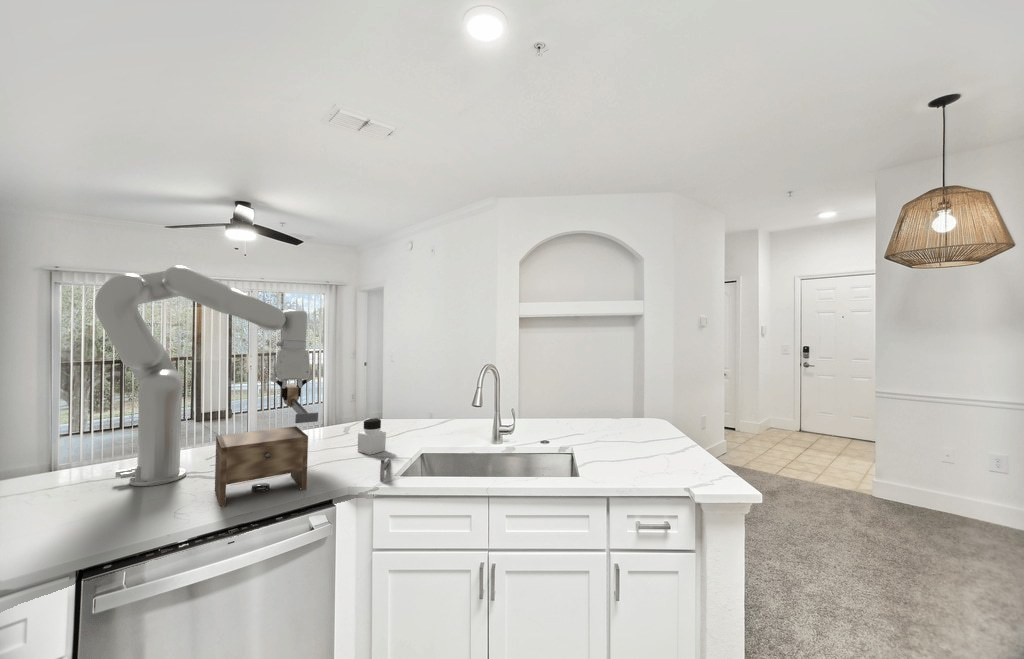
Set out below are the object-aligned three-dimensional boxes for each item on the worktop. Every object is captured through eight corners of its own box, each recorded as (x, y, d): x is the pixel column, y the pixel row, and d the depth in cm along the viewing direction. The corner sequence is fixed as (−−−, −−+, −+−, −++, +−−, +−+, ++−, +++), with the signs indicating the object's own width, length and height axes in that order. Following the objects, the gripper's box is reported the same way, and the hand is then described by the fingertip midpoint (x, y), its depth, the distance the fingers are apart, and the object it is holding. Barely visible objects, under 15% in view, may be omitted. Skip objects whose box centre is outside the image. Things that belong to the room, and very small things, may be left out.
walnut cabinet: (220, 509, 102) (221, 448, 102) (214, 490, 114) (216, 435, 114) (307, 491, 115) (309, 437, 115) (294, 475, 127) (296, 426, 127)
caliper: (383, 482, 124) (384, 461, 124) (379, 482, 124) (380, 461, 124) (389, 460, 144) (390, 442, 144) (386, 460, 144) (387, 442, 144)
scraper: (295, 423, 121) (297, 403, 121) (278, 401, 143) (279, 384, 143) (317, 421, 125) (319, 401, 125) (297, 400, 147) (299, 384, 147)
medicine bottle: (385, 450, 154) (386, 418, 154) (370, 455, 148) (370, 421, 148) (373, 447, 158) (373, 416, 158) (357, 451, 152) (358, 419, 152)
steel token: (273, 488, 117) (273, 484, 117) (260, 491, 113) (260, 488, 113) (260, 485, 118) (261, 482, 118) (247, 489, 114) (248, 485, 114)
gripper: (268, 346, 134) (265, 402, 134) (321, 346, 145) (319, 399, 144) (264, 344, 140) (261, 399, 140) (316, 345, 150) (313, 396, 150)
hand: (290, 398), depth 142 cm, fingers closed on scraper, 3 cm apart
